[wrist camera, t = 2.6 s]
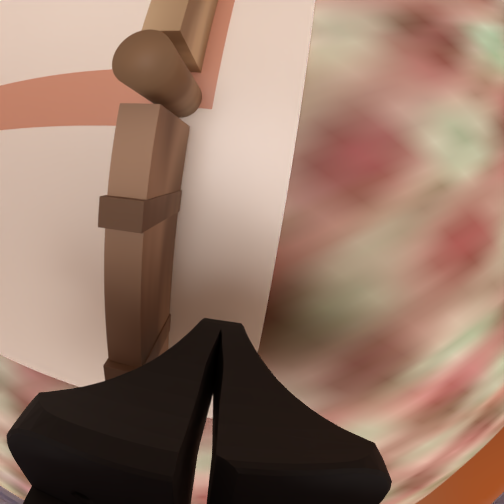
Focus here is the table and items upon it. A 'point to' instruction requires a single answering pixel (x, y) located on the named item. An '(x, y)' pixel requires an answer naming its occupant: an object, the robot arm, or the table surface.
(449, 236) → the table surface
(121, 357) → the fence panel
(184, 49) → the fence fixed
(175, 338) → the card
